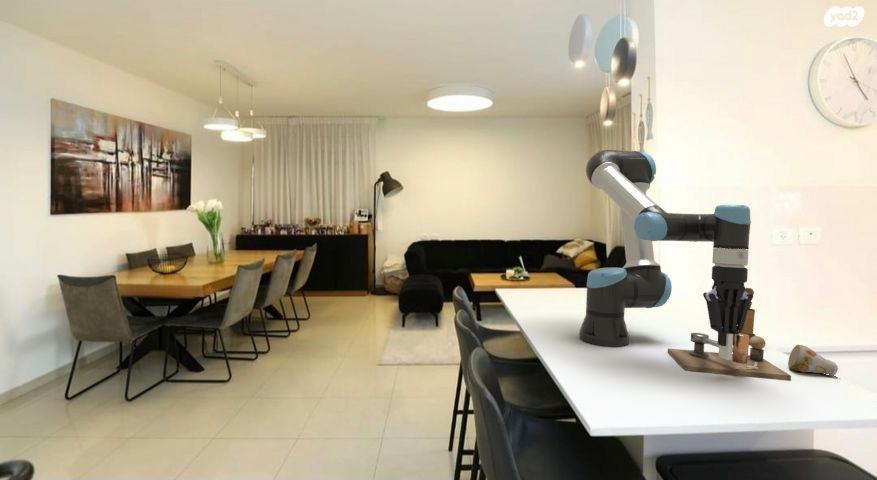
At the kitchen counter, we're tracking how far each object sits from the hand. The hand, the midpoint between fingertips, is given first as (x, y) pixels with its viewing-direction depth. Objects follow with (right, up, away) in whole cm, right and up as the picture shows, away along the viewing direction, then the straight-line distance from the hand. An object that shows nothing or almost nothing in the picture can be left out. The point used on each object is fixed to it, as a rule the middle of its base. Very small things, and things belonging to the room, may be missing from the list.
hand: (725, 358), depth 110 cm
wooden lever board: (+5, -4, +9) cm, 11 cm away
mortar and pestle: (+29, -4, +33) cm, 44 cm away
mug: (+26, -5, +5) cm, 27 cm away
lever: (+3, -1, +8) cm, 8 cm away
